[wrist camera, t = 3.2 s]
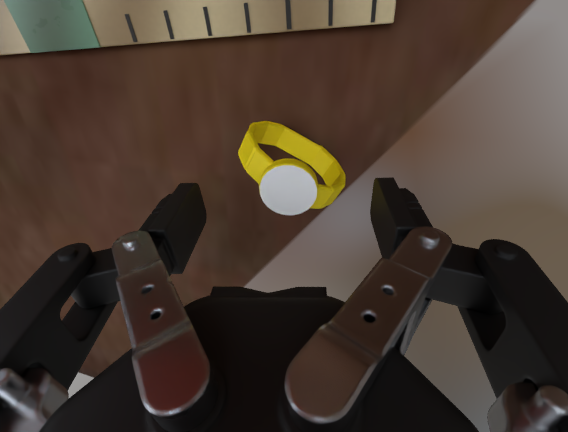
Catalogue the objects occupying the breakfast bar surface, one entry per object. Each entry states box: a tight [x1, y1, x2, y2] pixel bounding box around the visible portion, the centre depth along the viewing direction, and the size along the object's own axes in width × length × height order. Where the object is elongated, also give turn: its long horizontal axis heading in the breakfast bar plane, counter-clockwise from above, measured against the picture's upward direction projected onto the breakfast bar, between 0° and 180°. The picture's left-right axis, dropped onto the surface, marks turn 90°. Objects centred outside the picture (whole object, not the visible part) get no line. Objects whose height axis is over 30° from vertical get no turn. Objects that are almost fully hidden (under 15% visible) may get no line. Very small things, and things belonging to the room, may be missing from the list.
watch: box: [238, 121, 346, 215], centre depth 16 cm, size 6×3×6 cm, turn 63°
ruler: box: [0, 0, 396, 55], centre depth 14 cm, size 24×3×1 cm, turn 94°
